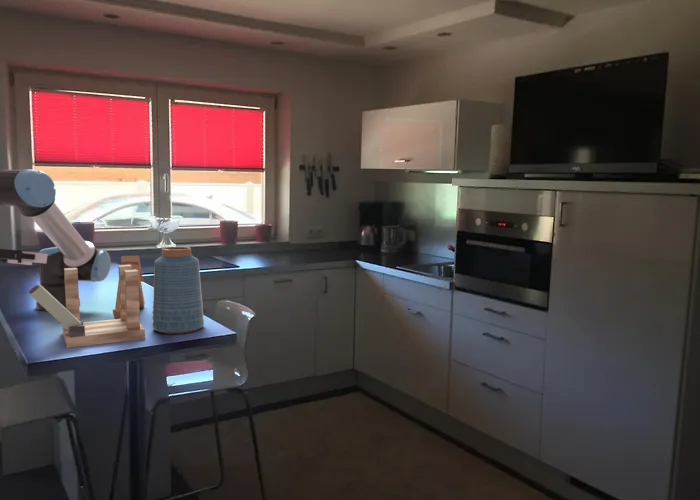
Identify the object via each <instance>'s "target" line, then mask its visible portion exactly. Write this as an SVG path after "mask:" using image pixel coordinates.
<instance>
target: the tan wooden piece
mask: <svg viewBox="0 0 700 500" xmlns="http://www.w3.org/2000/svg"><path fill="white" fill-rule="evenodd" d="M140 259H141V258H140V255H121V259H120V265H131V266H132V270H137V271H138V281H139V309H144V308H145V296H144V292H143V285H142V282H144V278H143V272H142V266H141V260H140ZM112 314H113V319H120V295H119V281H118V283H117V291H116V299H115V308H114V309H112Z"/></svg>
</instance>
